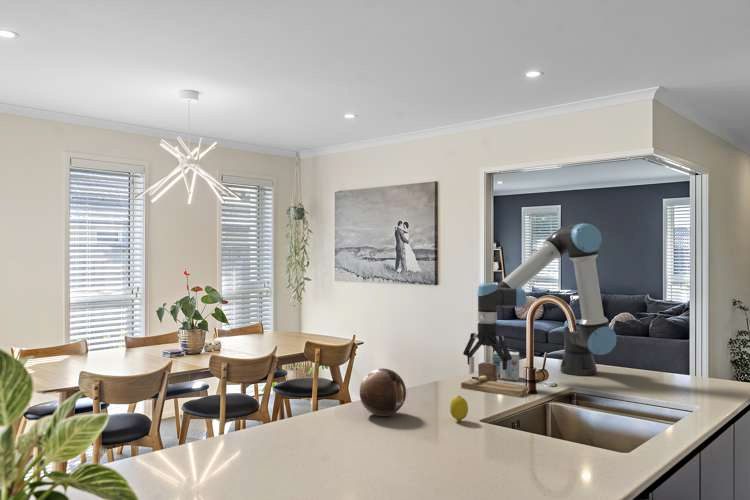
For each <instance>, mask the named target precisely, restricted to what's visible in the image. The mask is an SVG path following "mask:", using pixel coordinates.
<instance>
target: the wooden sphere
mask: <svg viewBox="0 0 750 500" xmlns="http://www.w3.org/2000/svg"><path fill="white" fill-rule="evenodd" d="M406 388H407V387H406V384H405V382H404V380H403V378H402V377H401V376H400V375H399V374H398V373H397V372H396V371H393V370H391V369H388V368H376V369H373V370H372V371H370V372H369V373H368V374H366V375H365V376H364V377H363V379H362V381H361V382H360V387H359V397H360V401H361V404H362V405H363V407H364V408H365V409H366V411H368V412H369V413H370V414H372V415H375V416H378V417H389V416H392V415H394V414H395V413H397V412H398V411H399V410H400V409H401V408H402V406H403V405H404V403H405V402H406V401H405V400H406V396H407V390H406Z"/></svg>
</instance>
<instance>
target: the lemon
mask: <svg viewBox="0 0 750 500" xmlns="http://www.w3.org/2000/svg"><path fill="white" fill-rule="evenodd" d="M449 411H450V415H451V416H452V418H453V419H455V420H456V421H457V422H461V421H462V420H463V419H466V417H467V416H468V412H469V405H468V402H467V400H466V399H465V398H464V397H462V396H461V395H457V396H456V397H454V398H453V399H452V400H451V401H450V406H449Z"/></svg>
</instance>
